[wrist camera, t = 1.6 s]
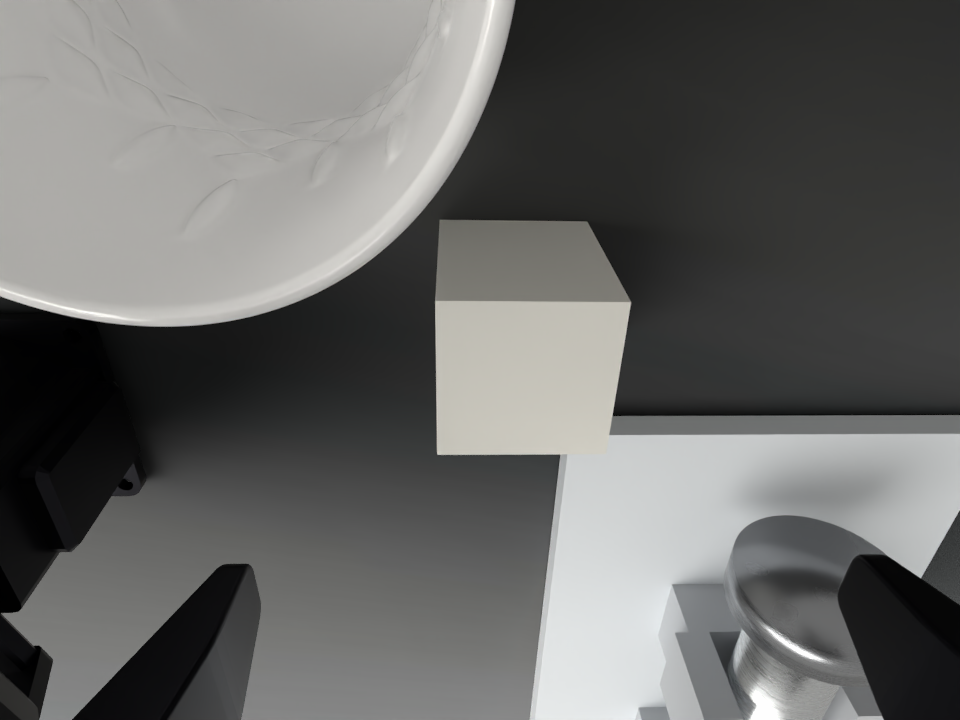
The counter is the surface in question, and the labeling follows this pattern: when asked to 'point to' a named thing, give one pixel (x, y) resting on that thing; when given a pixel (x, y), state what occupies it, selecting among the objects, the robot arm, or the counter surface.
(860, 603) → the robot arm
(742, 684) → the shaft
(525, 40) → the counter surface
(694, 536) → the bearing rail
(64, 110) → the white cup
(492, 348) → the block
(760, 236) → the counter surface
